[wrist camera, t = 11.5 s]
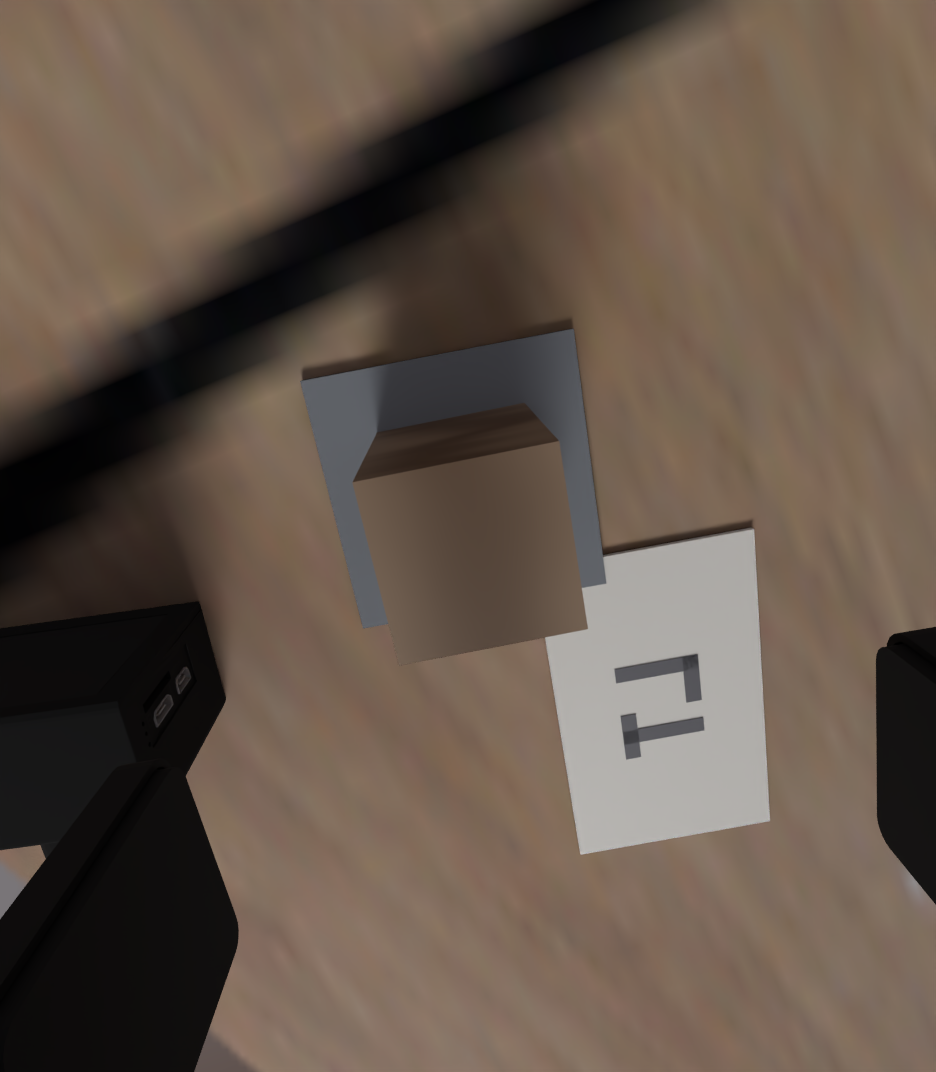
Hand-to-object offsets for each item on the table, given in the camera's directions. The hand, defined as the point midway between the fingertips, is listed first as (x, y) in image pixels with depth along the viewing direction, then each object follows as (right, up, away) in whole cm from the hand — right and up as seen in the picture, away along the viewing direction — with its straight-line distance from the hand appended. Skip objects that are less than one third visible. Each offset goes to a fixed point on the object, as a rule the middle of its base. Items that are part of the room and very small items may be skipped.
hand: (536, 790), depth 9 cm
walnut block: (-1, +5, +15) cm, 16 cm away
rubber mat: (-1, +5, +15) cm, 16 cm away
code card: (+7, -3, +18) cm, 19 cm away
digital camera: (-15, -2, +17) cm, 23 cm away
